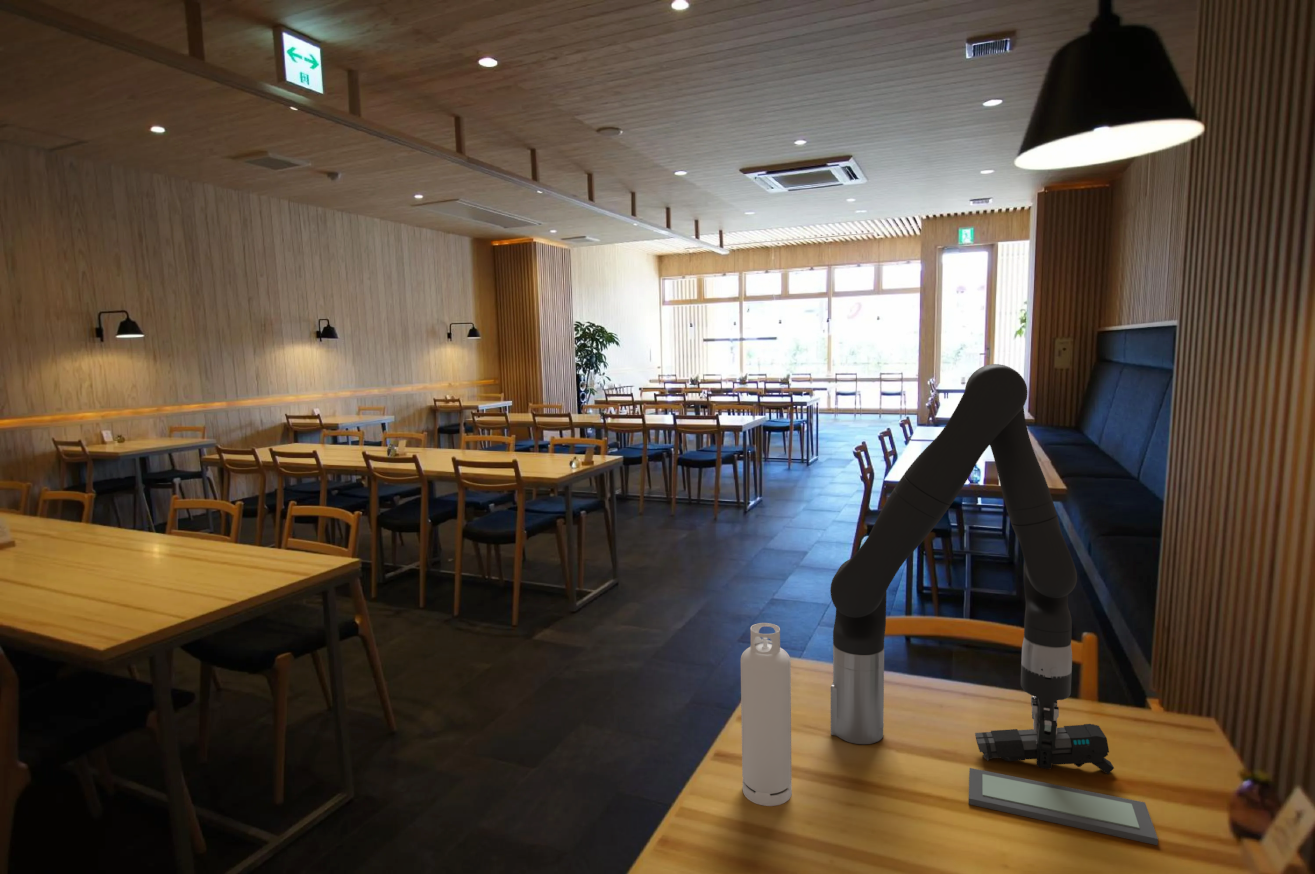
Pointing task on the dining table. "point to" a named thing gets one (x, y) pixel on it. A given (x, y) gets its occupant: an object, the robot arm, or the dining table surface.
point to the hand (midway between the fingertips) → (1042, 758)
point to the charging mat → (1062, 805)
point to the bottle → (766, 718)
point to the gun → (1070, 740)
